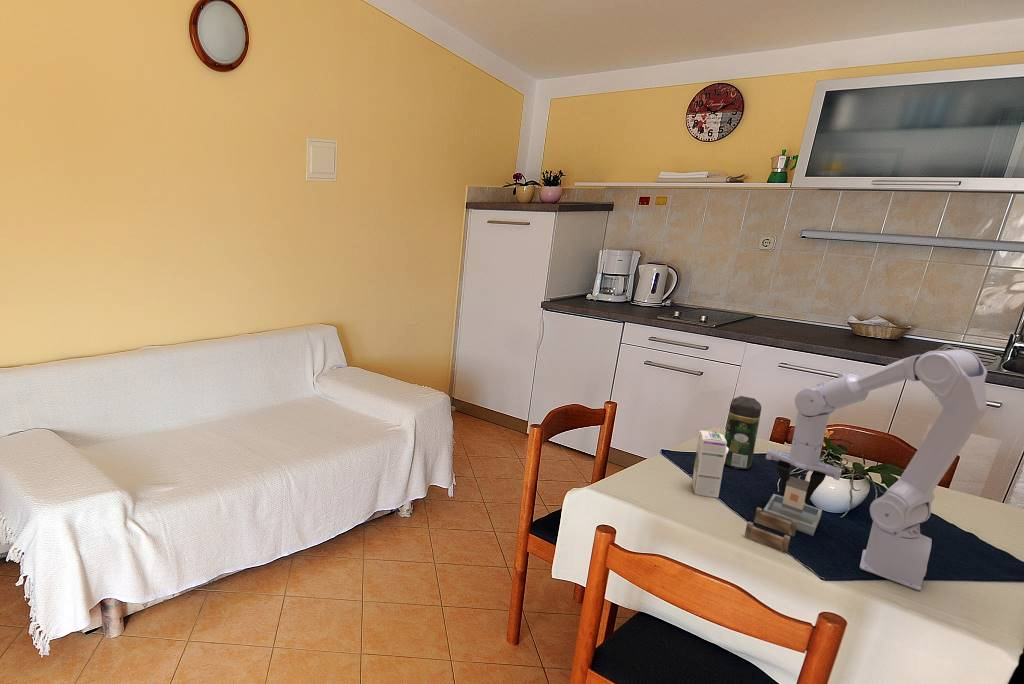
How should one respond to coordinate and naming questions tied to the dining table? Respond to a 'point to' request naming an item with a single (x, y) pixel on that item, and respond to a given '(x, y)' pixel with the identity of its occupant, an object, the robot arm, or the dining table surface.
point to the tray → (794, 514)
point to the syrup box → (709, 463)
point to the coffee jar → (742, 431)
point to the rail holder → (768, 537)
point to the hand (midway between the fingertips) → (795, 497)
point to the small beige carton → (795, 494)
